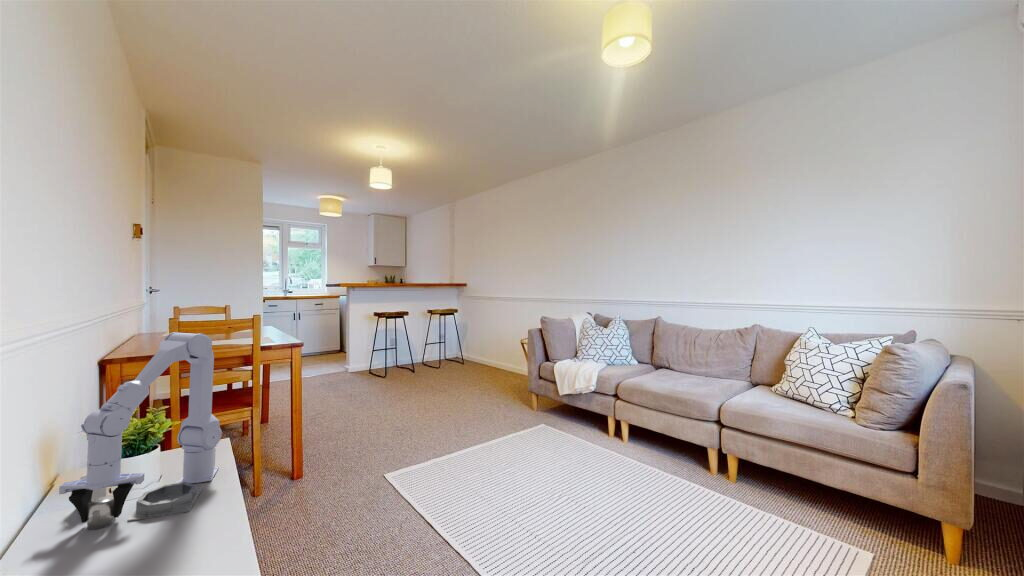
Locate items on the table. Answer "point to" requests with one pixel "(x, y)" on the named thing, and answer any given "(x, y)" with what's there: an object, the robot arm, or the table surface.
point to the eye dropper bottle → (96, 490)
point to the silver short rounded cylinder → (100, 513)
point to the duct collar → (166, 501)
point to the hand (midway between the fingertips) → (101, 517)
